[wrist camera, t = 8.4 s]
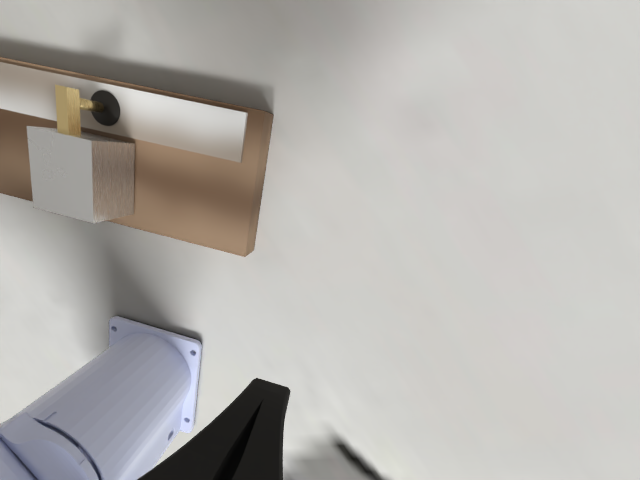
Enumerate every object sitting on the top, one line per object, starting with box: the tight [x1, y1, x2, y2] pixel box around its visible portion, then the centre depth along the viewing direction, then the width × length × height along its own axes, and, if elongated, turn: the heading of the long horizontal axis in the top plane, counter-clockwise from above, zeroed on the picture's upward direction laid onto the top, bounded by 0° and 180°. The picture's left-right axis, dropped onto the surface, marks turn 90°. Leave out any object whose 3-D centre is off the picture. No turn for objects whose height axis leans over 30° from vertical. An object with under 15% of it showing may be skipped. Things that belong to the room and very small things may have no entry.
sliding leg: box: [27, 85, 135, 223], centre depth 18 cm, size 7×4×3 cm, turn 168°
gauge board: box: [0, 57, 273, 257], centre depth 19 cm, size 9×26×4 cm, turn 78°
